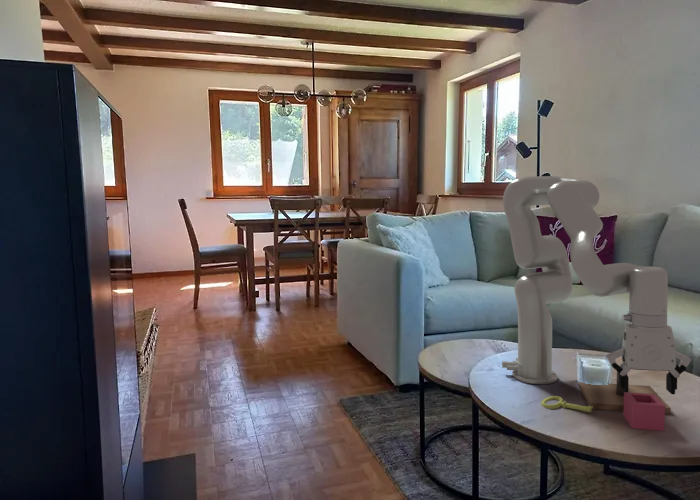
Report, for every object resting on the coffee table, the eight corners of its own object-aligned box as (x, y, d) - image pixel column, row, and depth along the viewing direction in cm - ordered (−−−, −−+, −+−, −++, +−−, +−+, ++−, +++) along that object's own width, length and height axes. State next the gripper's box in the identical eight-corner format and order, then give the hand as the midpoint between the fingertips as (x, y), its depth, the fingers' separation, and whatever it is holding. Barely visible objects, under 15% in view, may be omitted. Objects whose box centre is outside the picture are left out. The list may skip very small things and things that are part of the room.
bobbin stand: (590, 408, 121) (591, 376, 120) (578, 386, 135) (579, 358, 134) (670, 414, 117) (671, 380, 116) (649, 391, 131) (650, 361, 130)
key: (593, 417, 118) (593, 408, 118) (540, 409, 123) (540, 401, 123) (592, 405, 124) (593, 397, 124) (542, 398, 130) (542, 390, 129)
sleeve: (632, 428, 111) (633, 403, 110) (623, 415, 117) (624, 392, 117) (664, 430, 109) (665, 405, 109) (653, 417, 116) (654, 394, 115)
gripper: (611, 323, 109) (611, 395, 110) (698, 324, 104) (696, 399, 106) (602, 315, 116) (602, 383, 117) (683, 316, 112) (682, 386, 113)
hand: (647, 391), depth 112 cm, fingers open, 9 cm apart
